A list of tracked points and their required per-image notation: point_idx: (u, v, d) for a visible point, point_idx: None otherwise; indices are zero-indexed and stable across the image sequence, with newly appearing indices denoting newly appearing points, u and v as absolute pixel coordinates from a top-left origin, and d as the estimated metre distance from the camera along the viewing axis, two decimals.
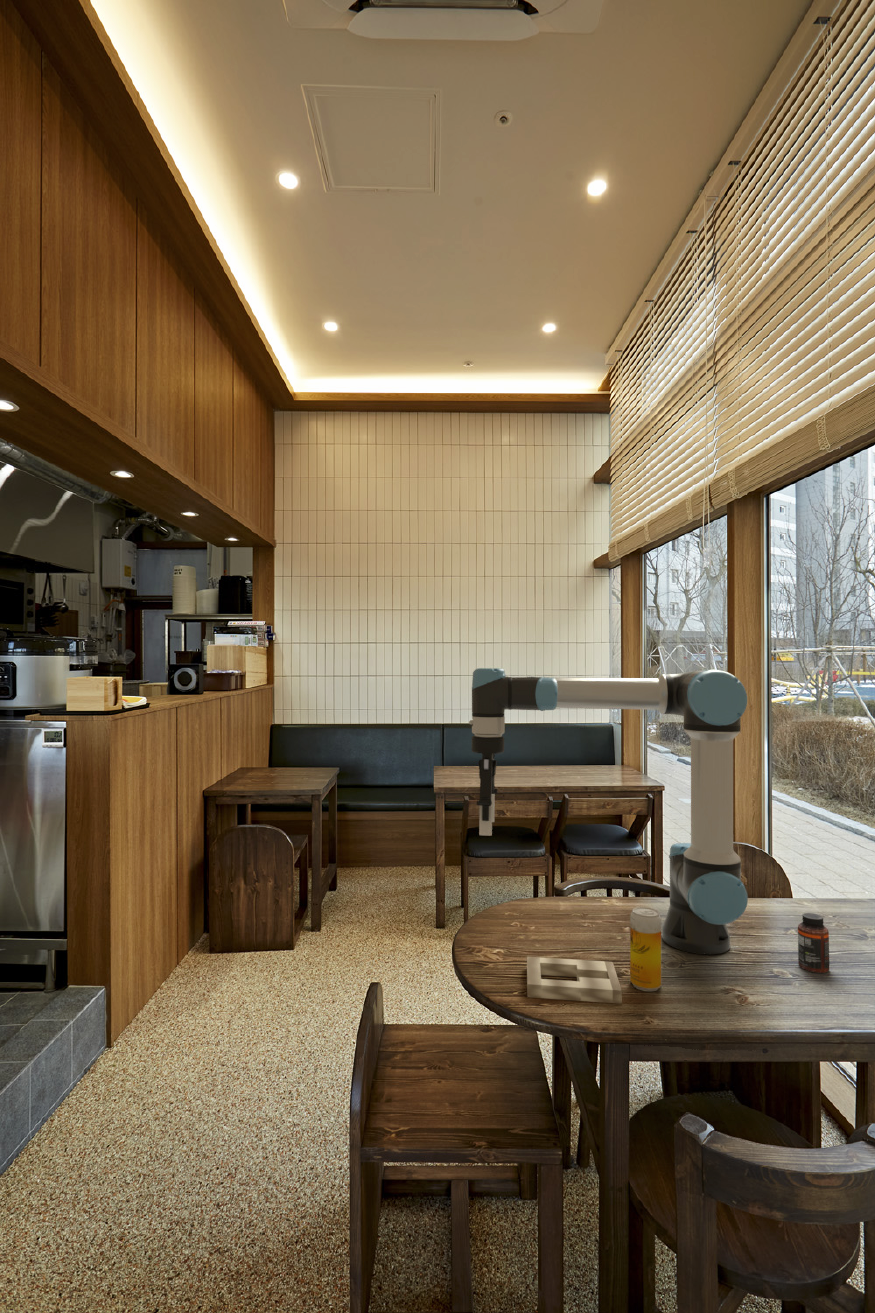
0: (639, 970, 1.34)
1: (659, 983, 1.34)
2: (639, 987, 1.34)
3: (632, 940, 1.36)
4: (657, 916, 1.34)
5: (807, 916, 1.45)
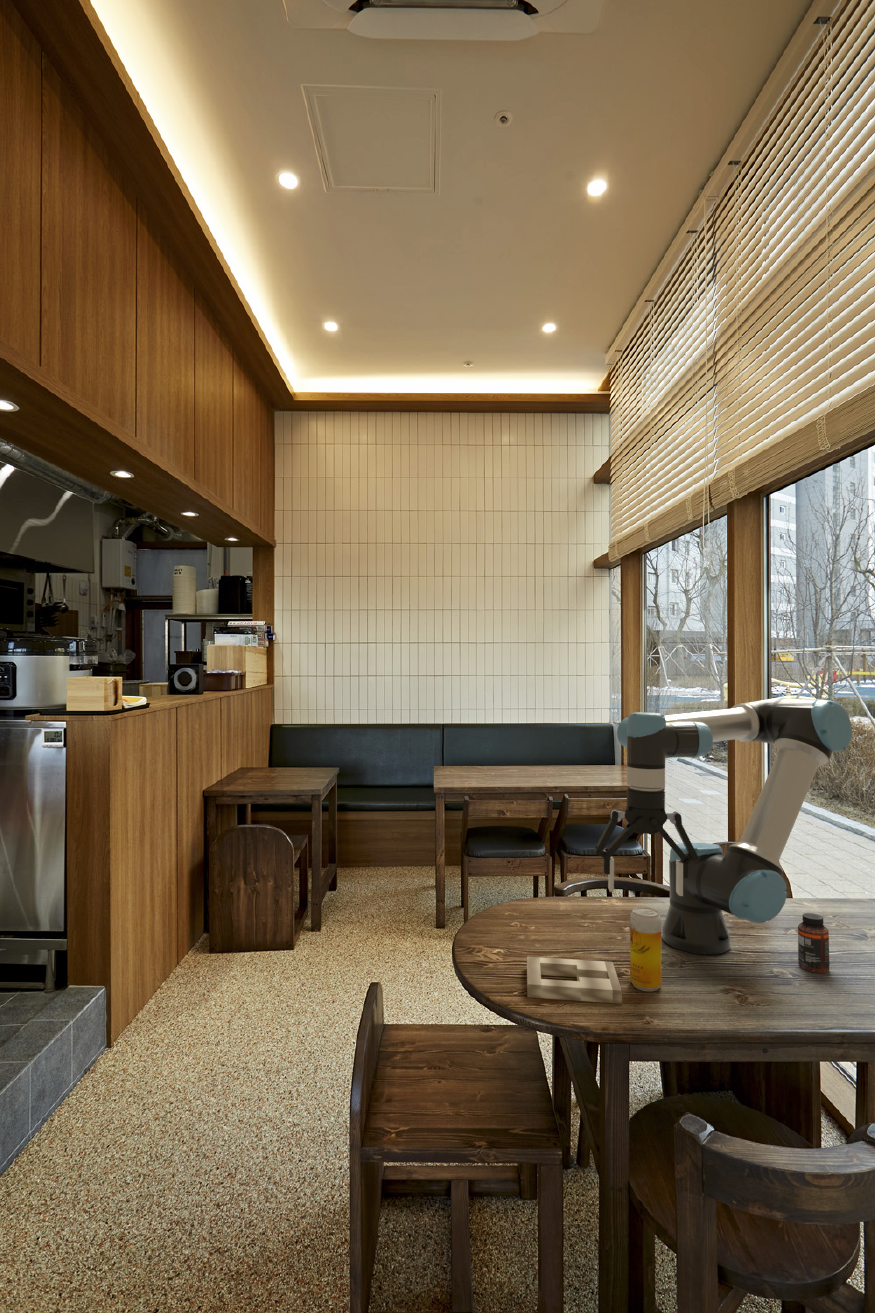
0: (639, 970, 1.34)
1: (659, 983, 1.34)
2: (639, 987, 1.34)
3: (632, 940, 1.36)
4: (657, 916, 1.34)
5: (807, 916, 1.45)
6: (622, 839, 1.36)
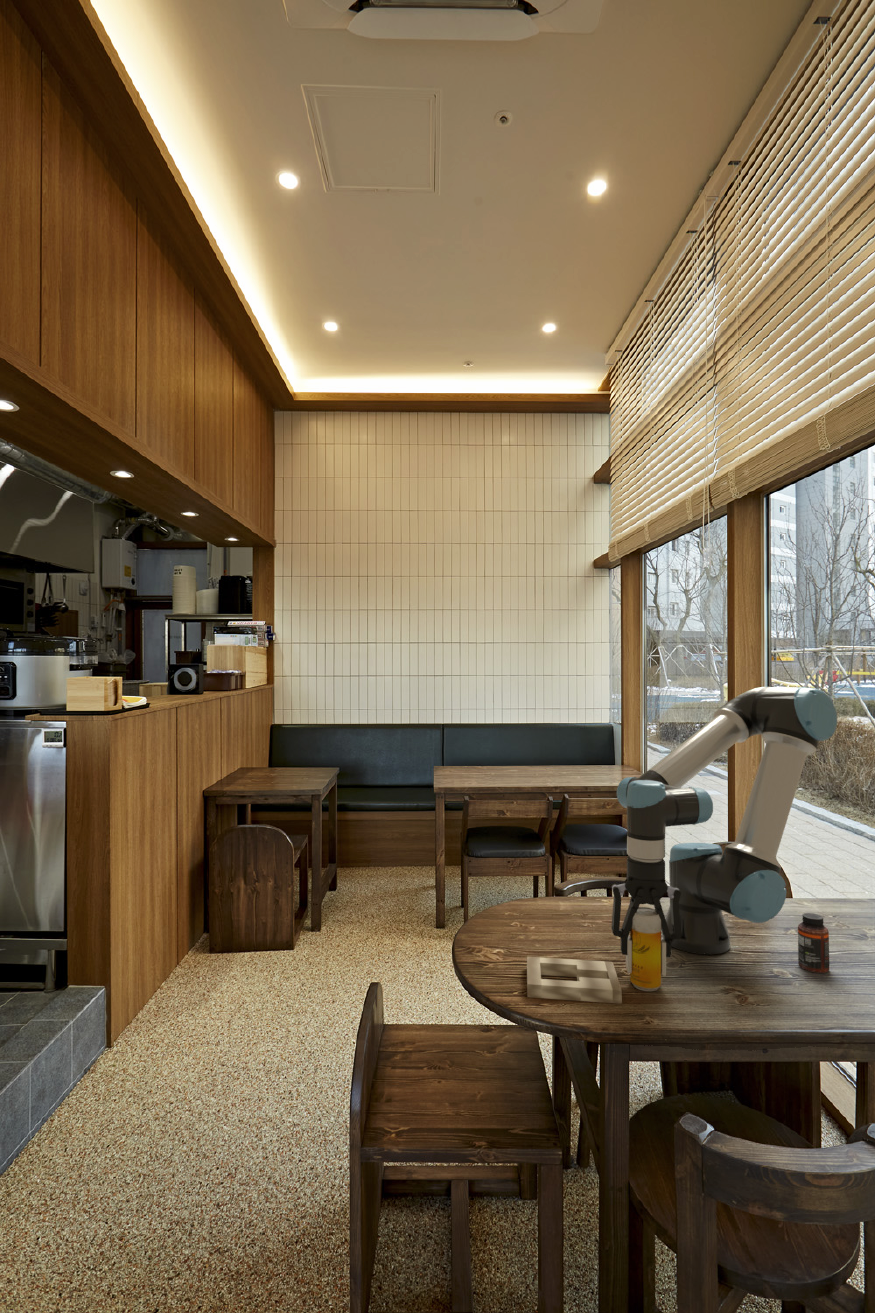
0: (639, 970, 1.34)
1: (659, 983, 1.34)
2: (639, 987, 1.34)
3: (632, 940, 1.36)
4: (657, 916, 1.34)
5: (807, 916, 1.45)
6: (632, 915, 1.36)
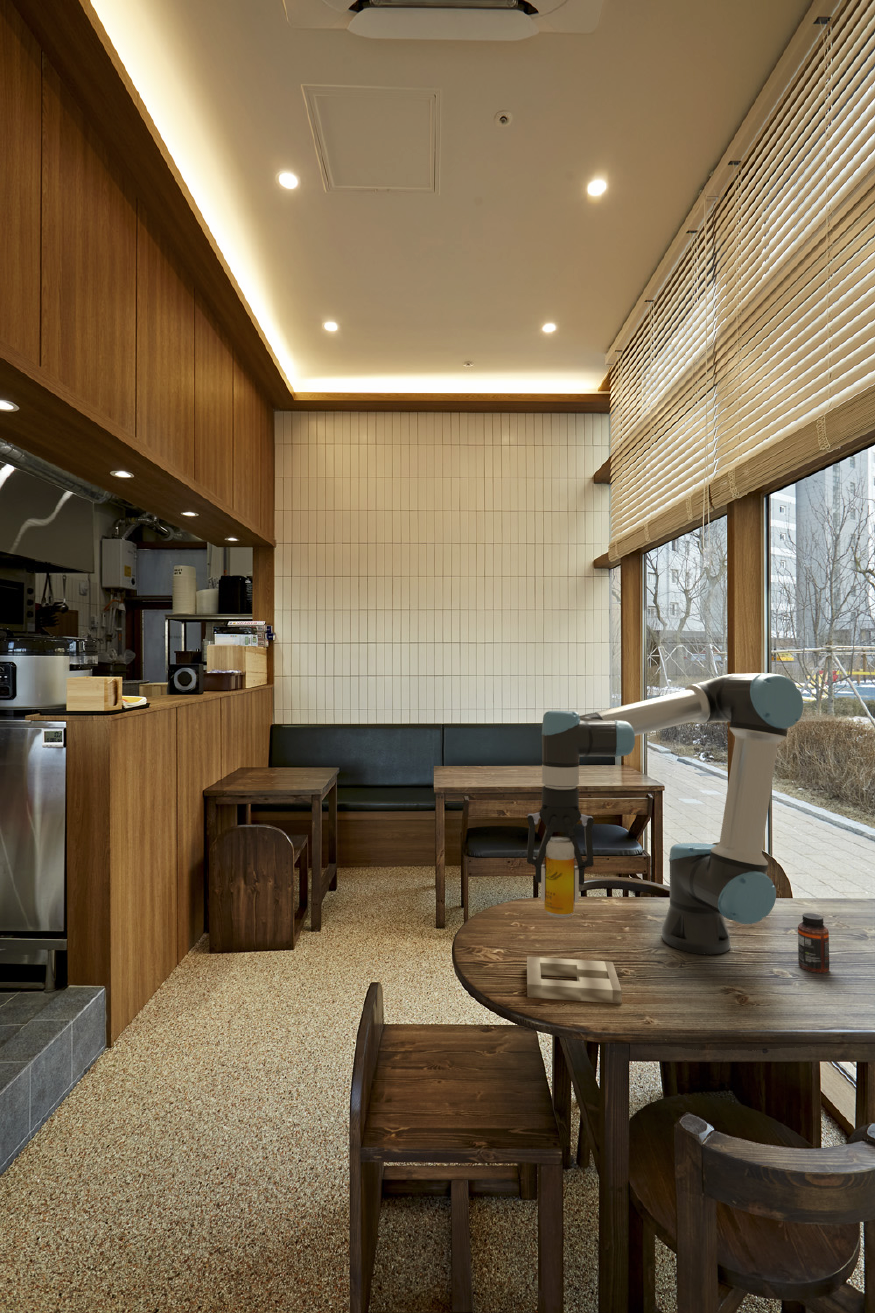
0: (552, 897, 1.34)
1: (571, 910, 1.34)
2: (551, 914, 1.35)
3: (546, 868, 1.36)
4: (570, 843, 1.35)
5: (807, 916, 1.45)
6: (545, 843, 1.36)
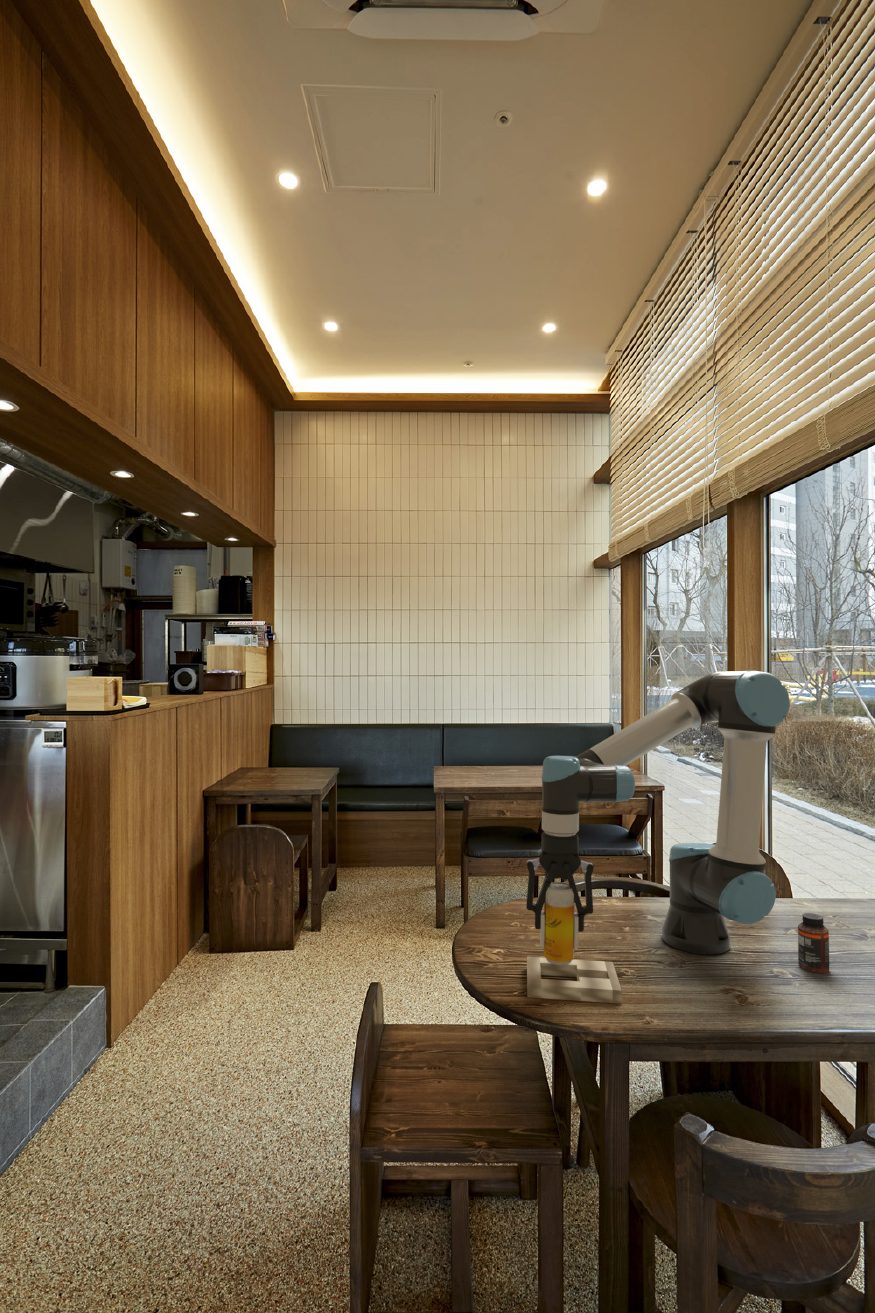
0: (551, 944, 1.34)
1: (571, 957, 1.34)
2: (551, 961, 1.34)
3: (545, 914, 1.36)
4: (569, 890, 1.35)
5: (807, 916, 1.45)
6: (545, 889, 1.36)
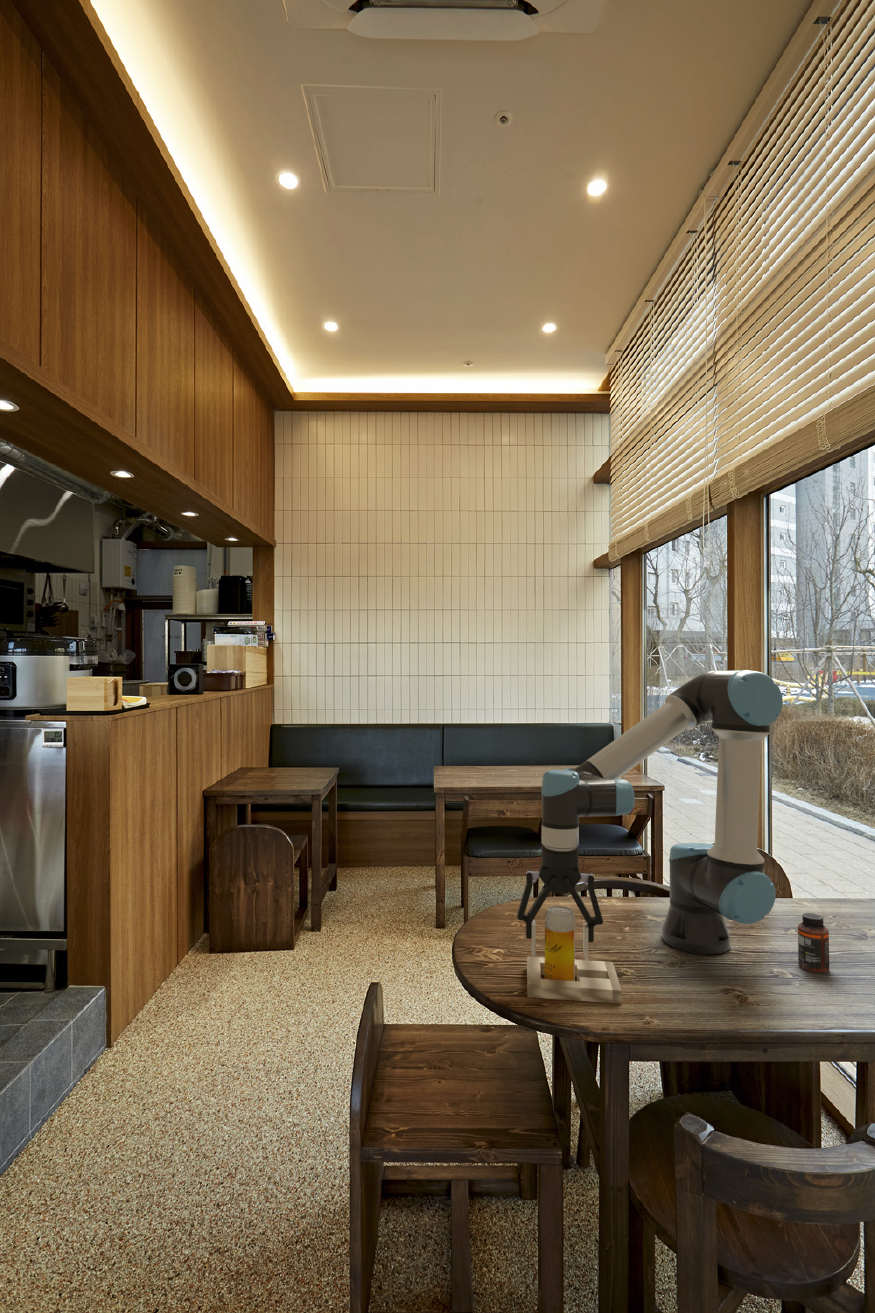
0: (552, 969, 1.34)
1: None
2: None
3: (546, 939, 1.36)
4: (570, 915, 1.35)
5: (807, 916, 1.45)
6: (540, 901, 1.36)
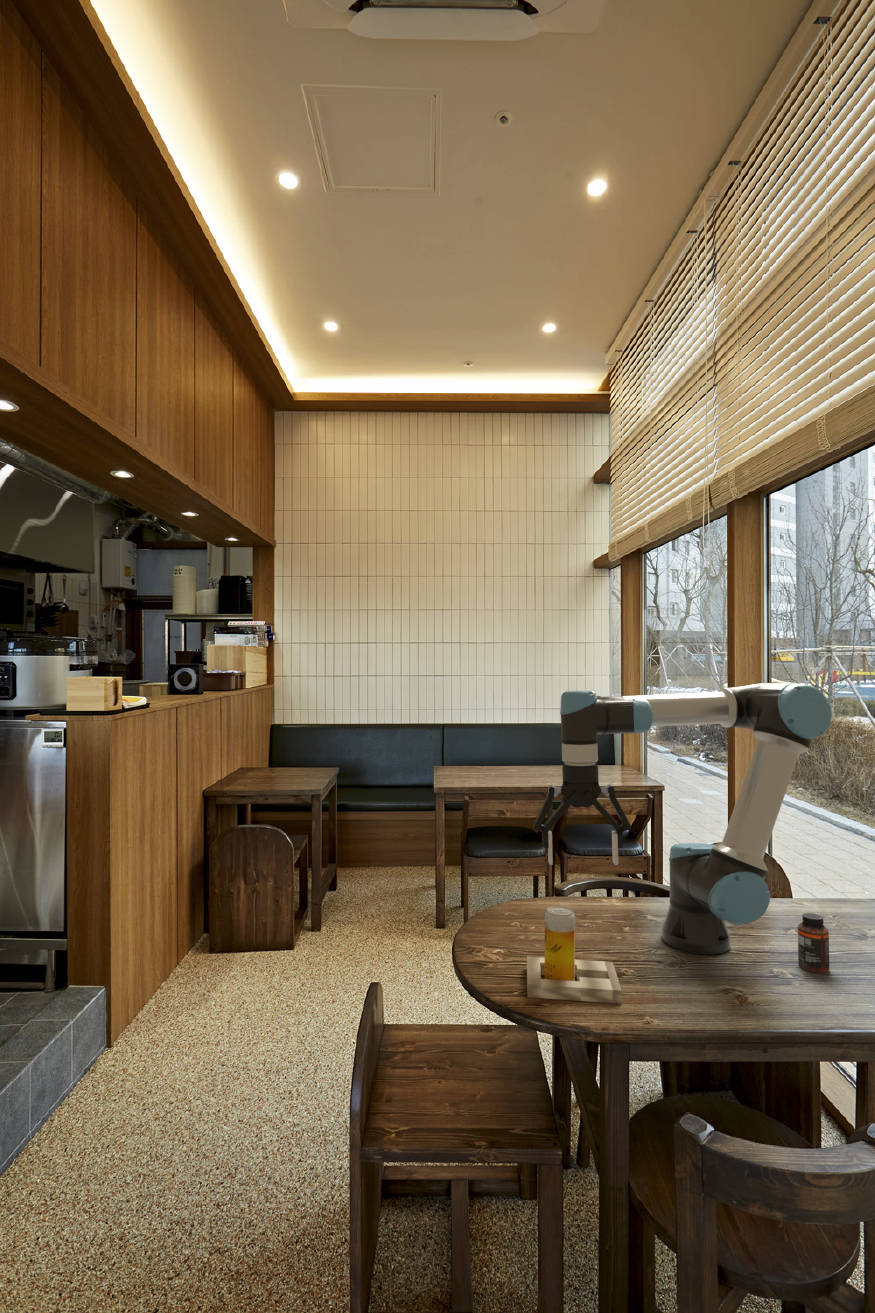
0: (552, 969, 1.34)
1: None
2: None
3: (546, 939, 1.36)
4: (570, 915, 1.35)
5: (807, 916, 1.45)
6: (559, 813, 1.41)
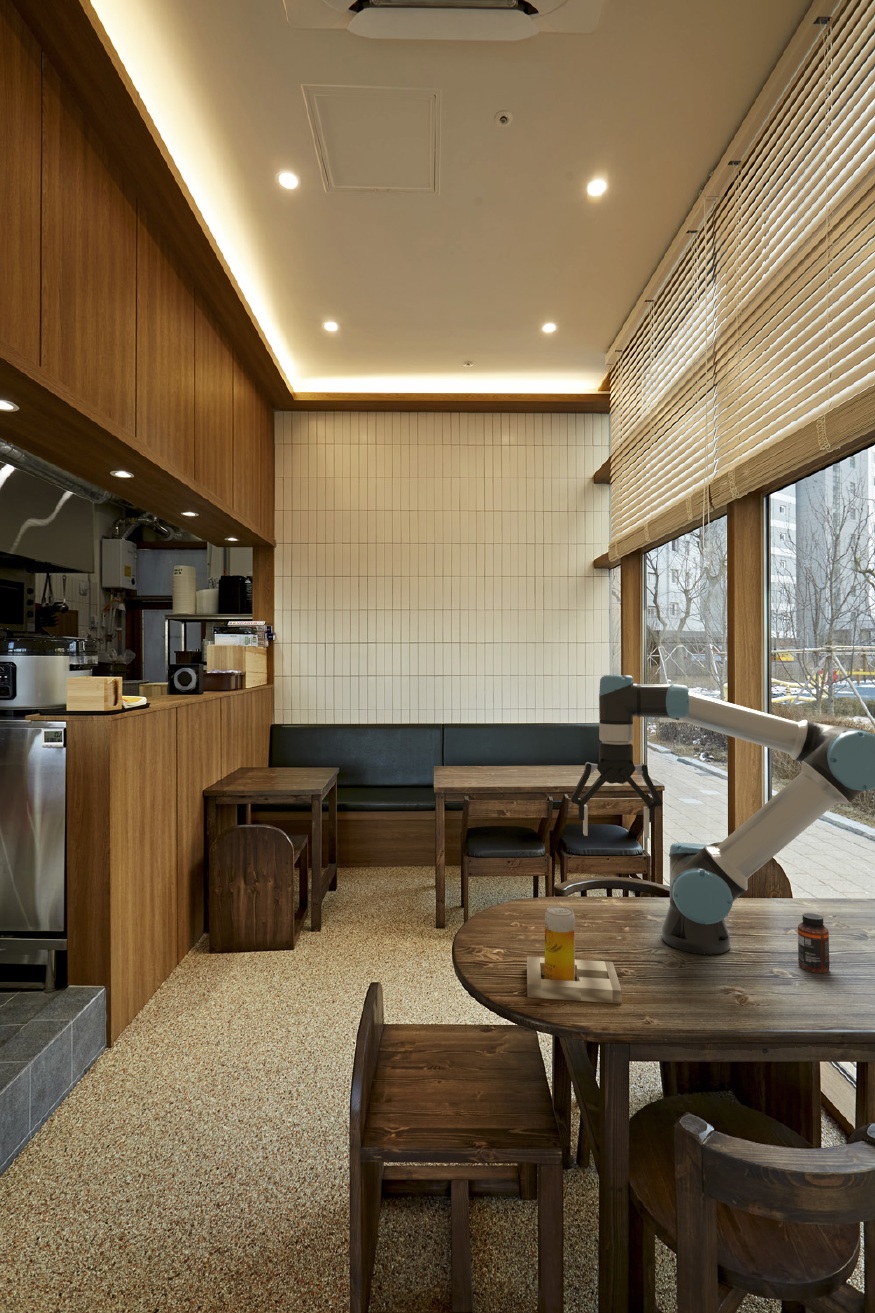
0: (552, 969, 1.34)
1: None
2: None
3: (546, 939, 1.36)
4: (570, 915, 1.35)
5: (807, 916, 1.45)
6: (595, 788, 1.52)
